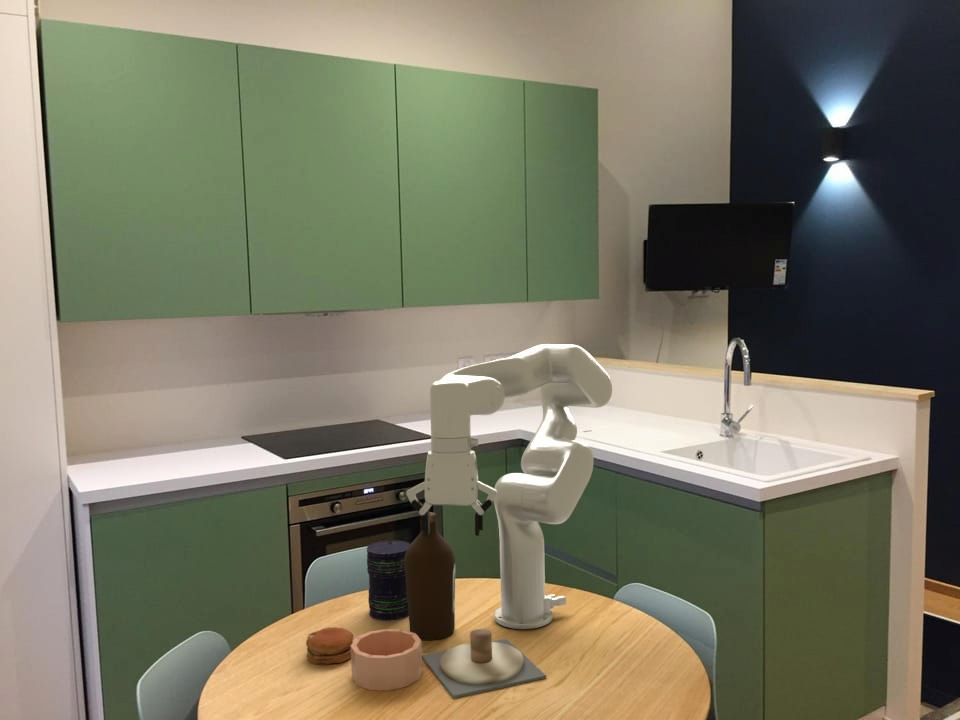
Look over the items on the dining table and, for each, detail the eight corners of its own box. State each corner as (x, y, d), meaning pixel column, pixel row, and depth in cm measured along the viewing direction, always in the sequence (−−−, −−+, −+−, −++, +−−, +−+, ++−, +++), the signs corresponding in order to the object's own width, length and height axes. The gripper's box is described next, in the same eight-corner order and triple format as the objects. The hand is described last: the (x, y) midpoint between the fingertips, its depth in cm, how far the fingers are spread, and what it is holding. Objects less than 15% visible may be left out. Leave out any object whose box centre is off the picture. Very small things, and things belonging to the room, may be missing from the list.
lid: (503, 641, 168) (502, 611, 167) (537, 673, 153) (536, 641, 153) (429, 656, 162) (428, 625, 161) (457, 691, 147) (456, 657, 147)
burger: (358, 661, 162) (357, 638, 161) (310, 670, 159) (308, 646, 158) (349, 642, 171) (348, 619, 171) (303, 649, 168) (302, 627, 168)
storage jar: (411, 620, 181) (408, 553, 180) (365, 621, 181) (363, 554, 180) (415, 603, 191) (413, 539, 190) (372, 604, 191) (369, 540, 190)
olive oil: (414, 645, 168) (410, 523, 166) (401, 626, 178) (397, 511, 176) (464, 636, 172) (461, 517, 170) (448, 618, 182) (445, 505, 180)
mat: (506, 640, 169) (506, 638, 169) (546, 678, 152) (546, 675, 152) (421, 657, 162) (421, 655, 162) (453, 698, 146) (453, 695, 146)
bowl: (409, 654, 164) (408, 624, 163) (430, 681, 152) (429, 649, 152) (346, 666, 159) (345, 636, 159) (362, 695, 148) (361, 663, 147)
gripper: (496, 441, 162) (498, 528, 163) (408, 442, 163) (409, 528, 164) (496, 448, 154) (497, 539, 156) (402, 448, 155) (404, 539, 156)
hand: (452, 534), depth 160 cm, fingers open, 9 cm apart
